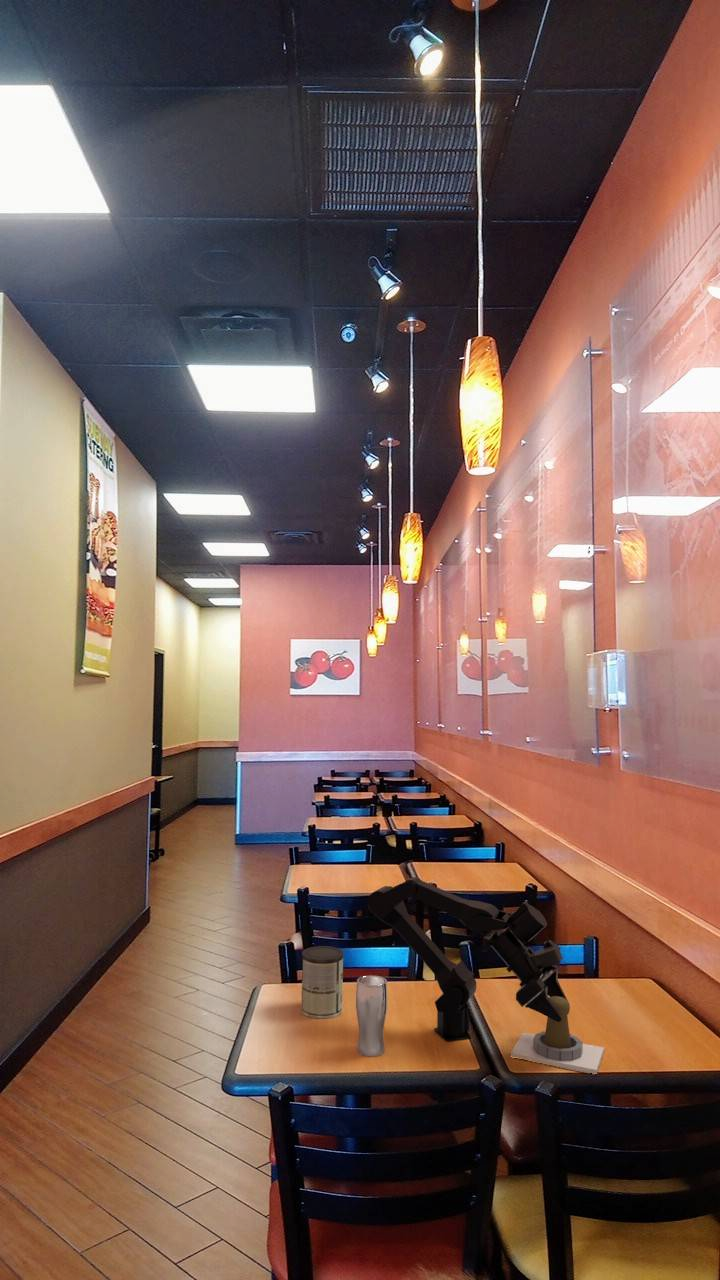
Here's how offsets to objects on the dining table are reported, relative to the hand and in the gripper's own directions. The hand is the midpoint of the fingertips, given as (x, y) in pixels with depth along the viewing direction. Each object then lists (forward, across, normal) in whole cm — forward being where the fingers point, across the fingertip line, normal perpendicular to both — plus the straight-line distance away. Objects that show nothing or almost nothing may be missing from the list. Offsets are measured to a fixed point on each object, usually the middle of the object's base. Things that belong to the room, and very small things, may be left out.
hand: (564, 1013), depth 177 cm
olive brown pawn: (+5, 0, +7) cm, 8 cm away
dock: (+5, 0, +7) cm, 9 cm away
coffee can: (-35, -1, +48) cm, 59 cm away
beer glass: (-21, -16, +34) cm, 43 cm away
